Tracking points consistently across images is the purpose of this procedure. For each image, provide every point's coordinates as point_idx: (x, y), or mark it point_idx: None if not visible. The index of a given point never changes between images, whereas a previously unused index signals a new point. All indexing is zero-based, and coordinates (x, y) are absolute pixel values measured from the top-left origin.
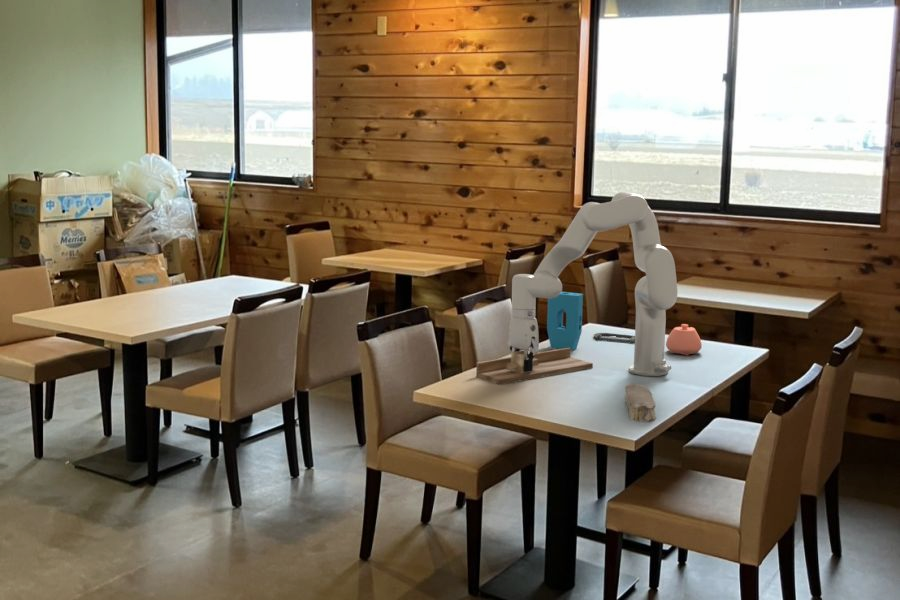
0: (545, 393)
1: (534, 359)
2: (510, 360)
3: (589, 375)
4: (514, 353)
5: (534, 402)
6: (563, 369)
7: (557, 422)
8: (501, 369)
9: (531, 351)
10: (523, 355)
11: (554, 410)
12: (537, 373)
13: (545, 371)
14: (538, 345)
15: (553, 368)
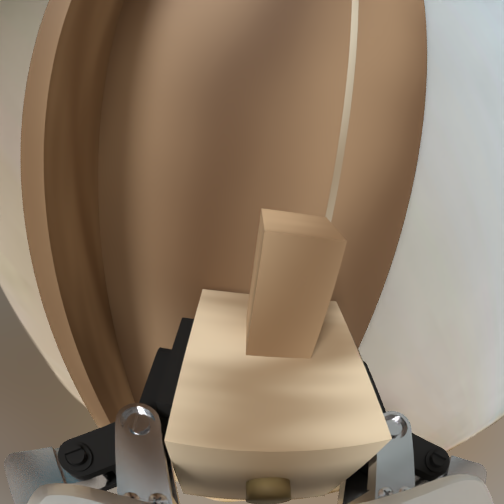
0: (466, 384)
1: (298, 274)
2: (91, 347)
3: (495, 28)
4: (230, 496)
5: (451, 425)
6: (422, 35)
7: (491, 423)
8: (144, 383)
9: (396, 483)
10: (332, 485)
11: (488, 411)
12: (378, 297)
13: (399, 212)
14: (489, 498)
15: (382, 74)
